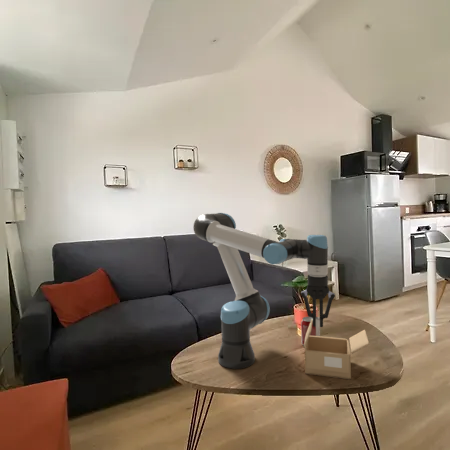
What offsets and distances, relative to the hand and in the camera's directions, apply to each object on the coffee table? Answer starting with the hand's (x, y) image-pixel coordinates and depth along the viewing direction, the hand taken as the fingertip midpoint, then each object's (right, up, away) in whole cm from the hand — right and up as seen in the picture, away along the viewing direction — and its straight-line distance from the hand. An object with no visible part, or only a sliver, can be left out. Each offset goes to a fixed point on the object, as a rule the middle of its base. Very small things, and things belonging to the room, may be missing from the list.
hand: (318, 334), depth 124 cm
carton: (+4, -13, -1) cm, 13 cm away
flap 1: (-3, 0, +1) cm, 3 cm away
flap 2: (+14, -1, -5) cm, 15 cm away
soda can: (+2, -12, +20) cm, 23 cm away
